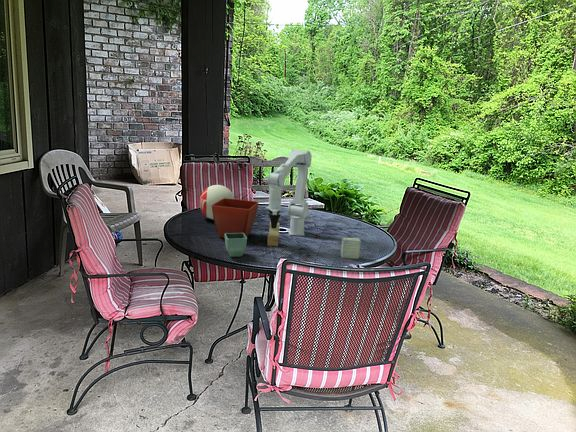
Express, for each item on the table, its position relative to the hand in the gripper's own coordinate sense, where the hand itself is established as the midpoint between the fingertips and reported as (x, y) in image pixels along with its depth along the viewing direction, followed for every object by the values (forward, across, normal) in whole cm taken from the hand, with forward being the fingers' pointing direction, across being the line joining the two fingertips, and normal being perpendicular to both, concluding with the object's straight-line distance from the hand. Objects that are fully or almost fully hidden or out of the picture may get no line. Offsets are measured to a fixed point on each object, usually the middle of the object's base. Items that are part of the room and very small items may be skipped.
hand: (273, 226), depth 225 cm
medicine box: (+9, +15, +35) cm, 39 cm away
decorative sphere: (+9, -43, -31) cm, 54 cm away
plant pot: (+9, -12, -19) cm, 24 cm away
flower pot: (+9, +19, -17) cm, 27 cm away
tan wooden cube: (+9, 0, 0) cm, 9 cm away
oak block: (+4, 0, 0) cm, 4 cm away
